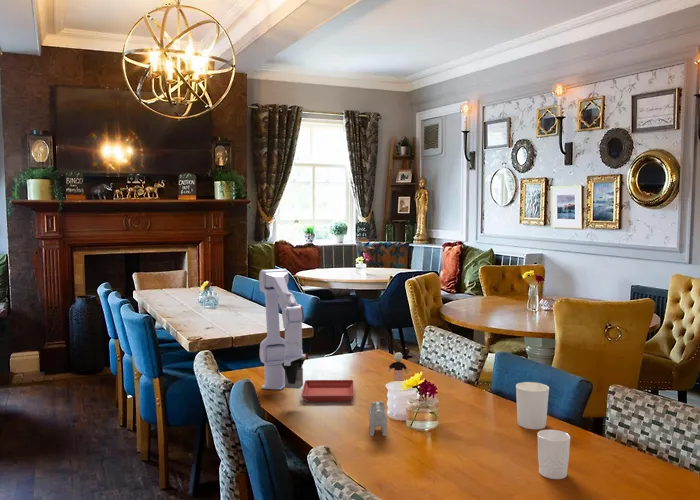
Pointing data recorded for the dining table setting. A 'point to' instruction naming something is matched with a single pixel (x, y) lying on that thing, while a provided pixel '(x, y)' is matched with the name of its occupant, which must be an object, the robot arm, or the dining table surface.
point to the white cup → (553, 453)
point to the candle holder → (532, 404)
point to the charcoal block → (298, 381)
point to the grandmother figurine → (398, 367)
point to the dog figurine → (377, 417)
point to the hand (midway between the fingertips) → (293, 381)
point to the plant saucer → (328, 390)
